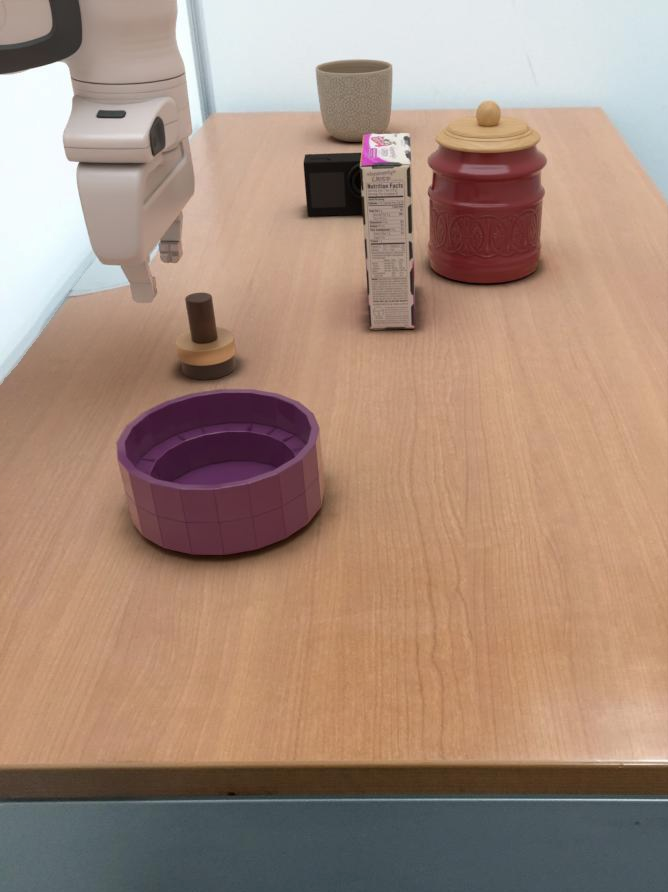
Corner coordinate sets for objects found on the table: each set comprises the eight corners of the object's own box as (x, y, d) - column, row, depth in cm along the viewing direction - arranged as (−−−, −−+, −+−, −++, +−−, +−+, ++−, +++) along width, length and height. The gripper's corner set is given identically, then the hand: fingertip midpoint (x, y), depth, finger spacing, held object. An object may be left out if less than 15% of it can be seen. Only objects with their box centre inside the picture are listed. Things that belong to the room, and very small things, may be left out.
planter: (316, 131, 164) (311, 61, 158) (387, 126, 166) (385, 57, 160) (324, 149, 154) (319, 75, 148) (400, 144, 156) (398, 71, 150)
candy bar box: (368, 289, 105) (361, 132, 96) (414, 288, 105) (411, 131, 96) (366, 331, 96) (358, 162, 87) (415, 330, 96) (413, 161, 87)
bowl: (108, 560, 66) (89, 488, 63) (160, 454, 78) (146, 388, 74) (311, 563, 65) (304, 490, 62) (333, 456, 77) (328, 389, 73)
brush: (174, 380, 88) (161, 309, 84) (187, 355, 93) (176, 286, 89) (231, 381, 88) (221, 309, 84) (242, 355, 92) (233, 286, 88)
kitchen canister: (559, 258, 112) (572, 95, 102) (506, 294, 104) (514, 120, 93) (464, 239, 118) (466, 84, 108) (406, 272, 109) (403, 106, 99)
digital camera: (306, 219, 126) (301, 164, 121) (308, 207, 130) (304, 153, 126) (385, 217, 126) (383, 162, 122) (384, 204, 130) (382, 151, 126)
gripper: (131, 85, 85) (154, 239, 94) (53, 144, 69) (89, 324, 77) (201, 86, 85) (218, 240, 93) (140, 145, 69) (167, 326, 77)
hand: (159, 279), depth 85 cm, fingers open, 8 cm apart
